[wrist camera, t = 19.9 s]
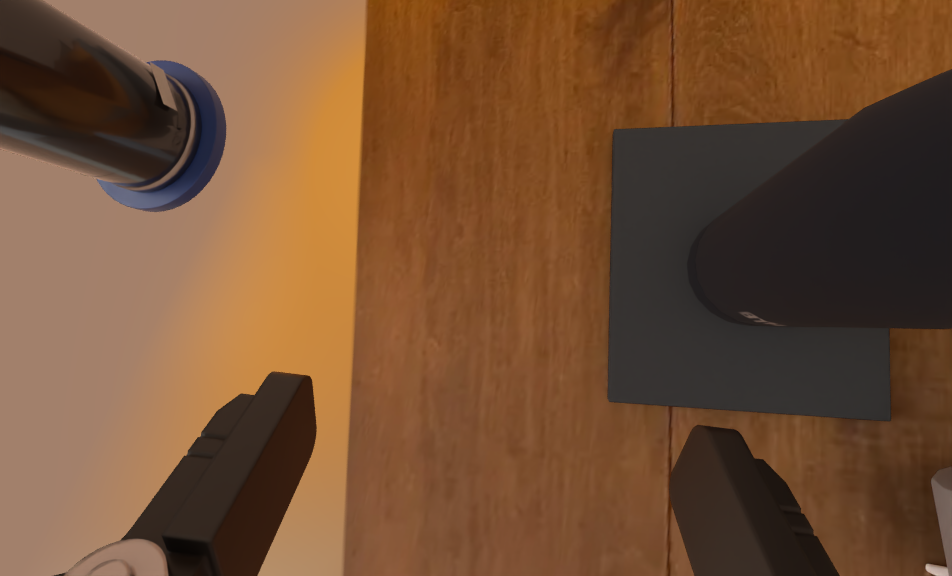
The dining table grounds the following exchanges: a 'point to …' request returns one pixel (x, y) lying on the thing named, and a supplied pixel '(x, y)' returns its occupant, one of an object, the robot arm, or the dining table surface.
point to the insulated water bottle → (844, 227)
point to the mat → (685, 318)
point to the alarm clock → (943, 518)
